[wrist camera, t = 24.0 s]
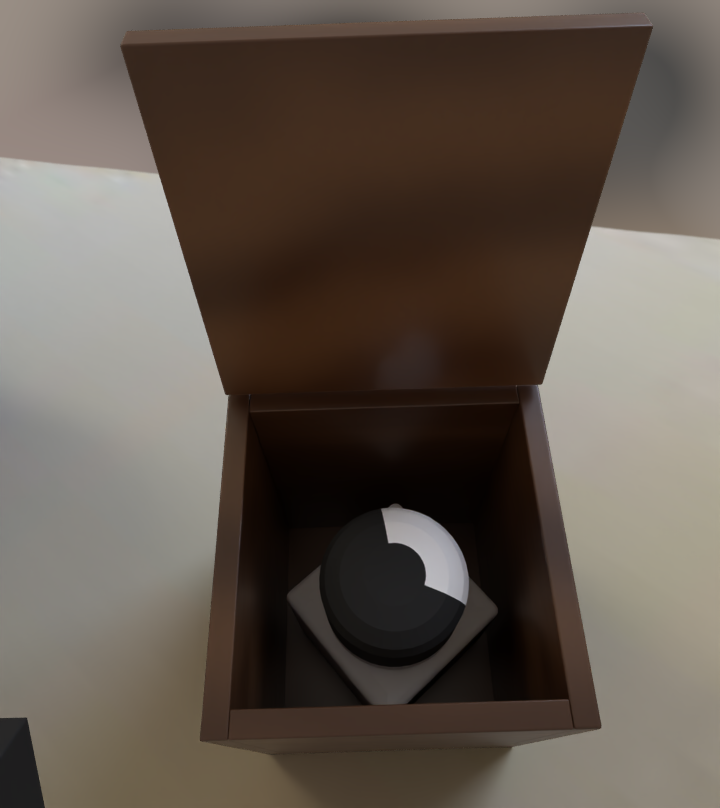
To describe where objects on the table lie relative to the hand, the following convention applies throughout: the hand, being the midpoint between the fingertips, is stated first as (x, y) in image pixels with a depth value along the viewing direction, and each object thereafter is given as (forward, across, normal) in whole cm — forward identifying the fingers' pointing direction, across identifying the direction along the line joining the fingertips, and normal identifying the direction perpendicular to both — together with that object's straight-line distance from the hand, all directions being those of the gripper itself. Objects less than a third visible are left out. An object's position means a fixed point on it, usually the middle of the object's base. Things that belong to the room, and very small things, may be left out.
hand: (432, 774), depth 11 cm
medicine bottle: (+23, 0, -13) cm, 27 cm away
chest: (+24, 0, -13) cm, 27 cm away
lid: (+13, 0, +8) cm, 15 cm away
